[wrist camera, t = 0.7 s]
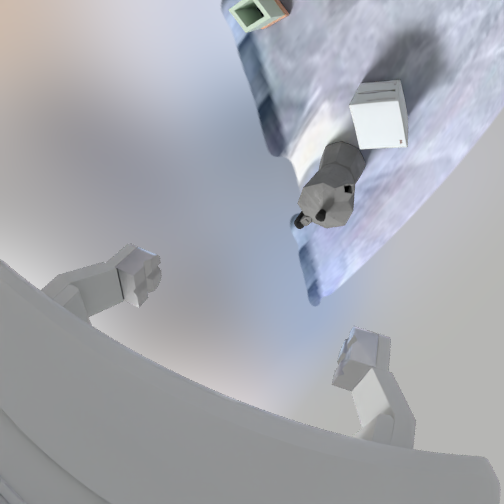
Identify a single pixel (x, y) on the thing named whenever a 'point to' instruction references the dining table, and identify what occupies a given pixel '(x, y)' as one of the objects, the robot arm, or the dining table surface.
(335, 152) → the coffeepot
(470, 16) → the dining table surface
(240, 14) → the sleeve
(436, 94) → the dining table surface
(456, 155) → the dining table surface
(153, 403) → the robot arm
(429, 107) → the dining table surface
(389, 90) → the supplement box
